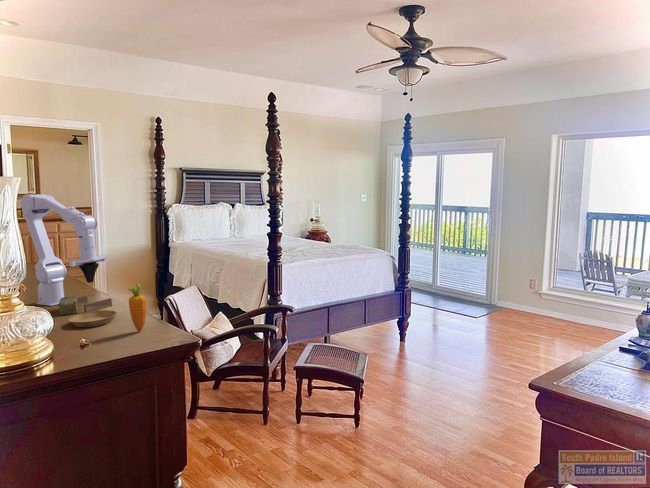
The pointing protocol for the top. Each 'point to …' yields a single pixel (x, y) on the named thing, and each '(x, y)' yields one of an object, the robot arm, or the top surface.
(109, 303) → the chute
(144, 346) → the top surface
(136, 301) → the carrot
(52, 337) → the top surface
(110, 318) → the plant saucer
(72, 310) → the stone block
